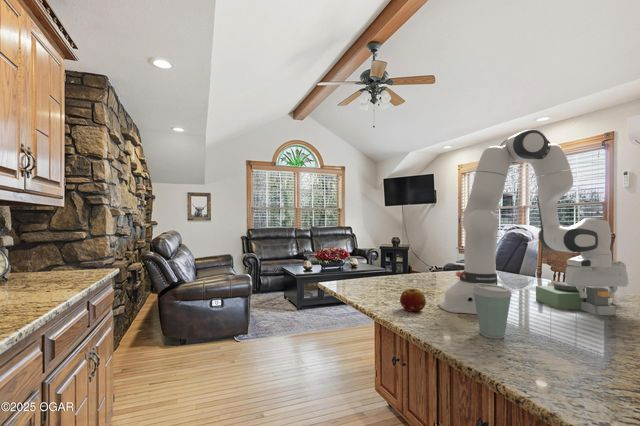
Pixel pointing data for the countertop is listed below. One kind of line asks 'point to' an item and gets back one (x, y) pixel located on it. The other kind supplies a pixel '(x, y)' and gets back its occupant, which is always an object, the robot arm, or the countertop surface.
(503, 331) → the disposable coffee cup
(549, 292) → the green and grey base
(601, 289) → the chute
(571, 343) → the countertop surface
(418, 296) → the fruit
